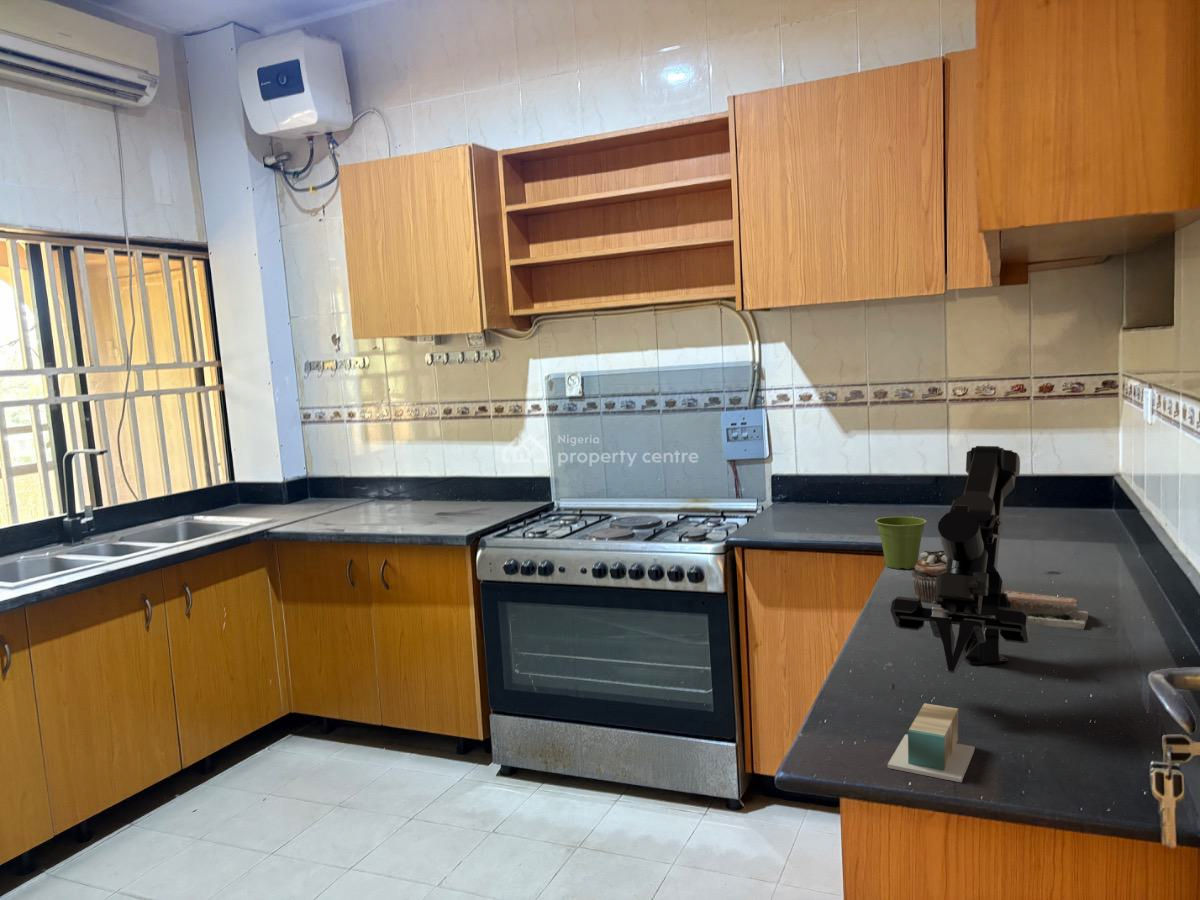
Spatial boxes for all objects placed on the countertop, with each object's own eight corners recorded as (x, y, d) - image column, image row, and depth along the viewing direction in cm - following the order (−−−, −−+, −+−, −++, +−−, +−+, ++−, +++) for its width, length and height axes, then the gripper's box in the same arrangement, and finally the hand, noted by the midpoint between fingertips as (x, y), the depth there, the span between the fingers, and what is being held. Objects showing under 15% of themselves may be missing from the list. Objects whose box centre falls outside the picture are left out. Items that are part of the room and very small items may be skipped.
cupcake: (903, 594, 194) (903, 548, 193) (946, 591, 195) (946, 545, 193) (923, 606, 184) (923, 558, 183) (968, 603, 185) (968, 555, 184)
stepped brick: (980, 596, 174) (988, 584, 183) (980, 620, 175) (988, 607, 183) (1085, 606, 165) (1088, 593, 173) (1084, 632, 165) (1088, 617, 174)
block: (924, 703, 124) (907, 731, 116) (957, 708, 122) (943, 737, 113) (924, 733, 125) (908, 763, 116) (958, 739, 122) (943, 770, 114)
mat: (905, 737, 125) (905, 734, 125) (974, 750, 120) (974, 746, 120) (887, 767, 116) (887, 764, 116) (961, 782, 112) (961, 778, 112)
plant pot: (933, 563, 218) (932, 517, 217) (918, 574, 209) (918, 527, 208) (884, 558, 225) (884, 514, 224) (868, 569, 216) (867, 523, 215)
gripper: (892, 545, 136) (874, 637, 128) (1027, 555, 127) (1017, 655, 119) (905, 582, 144) (889, 671, 136) (1033, 594, 134) (1024, 691, 126)
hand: (951, 671), depth 129 cm, fingers closed
